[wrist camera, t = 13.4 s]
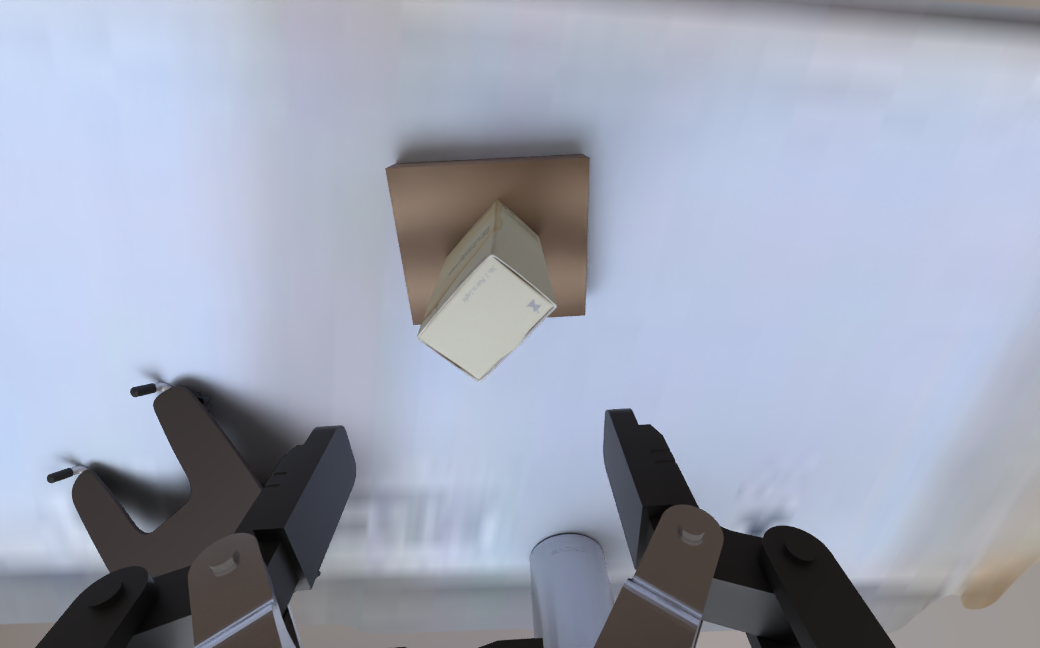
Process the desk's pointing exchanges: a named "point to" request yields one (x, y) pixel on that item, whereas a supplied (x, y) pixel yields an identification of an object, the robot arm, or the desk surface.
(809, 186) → the desk surface
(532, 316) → the skincare box
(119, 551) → the portable electronic device stand
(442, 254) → the walnut stand
